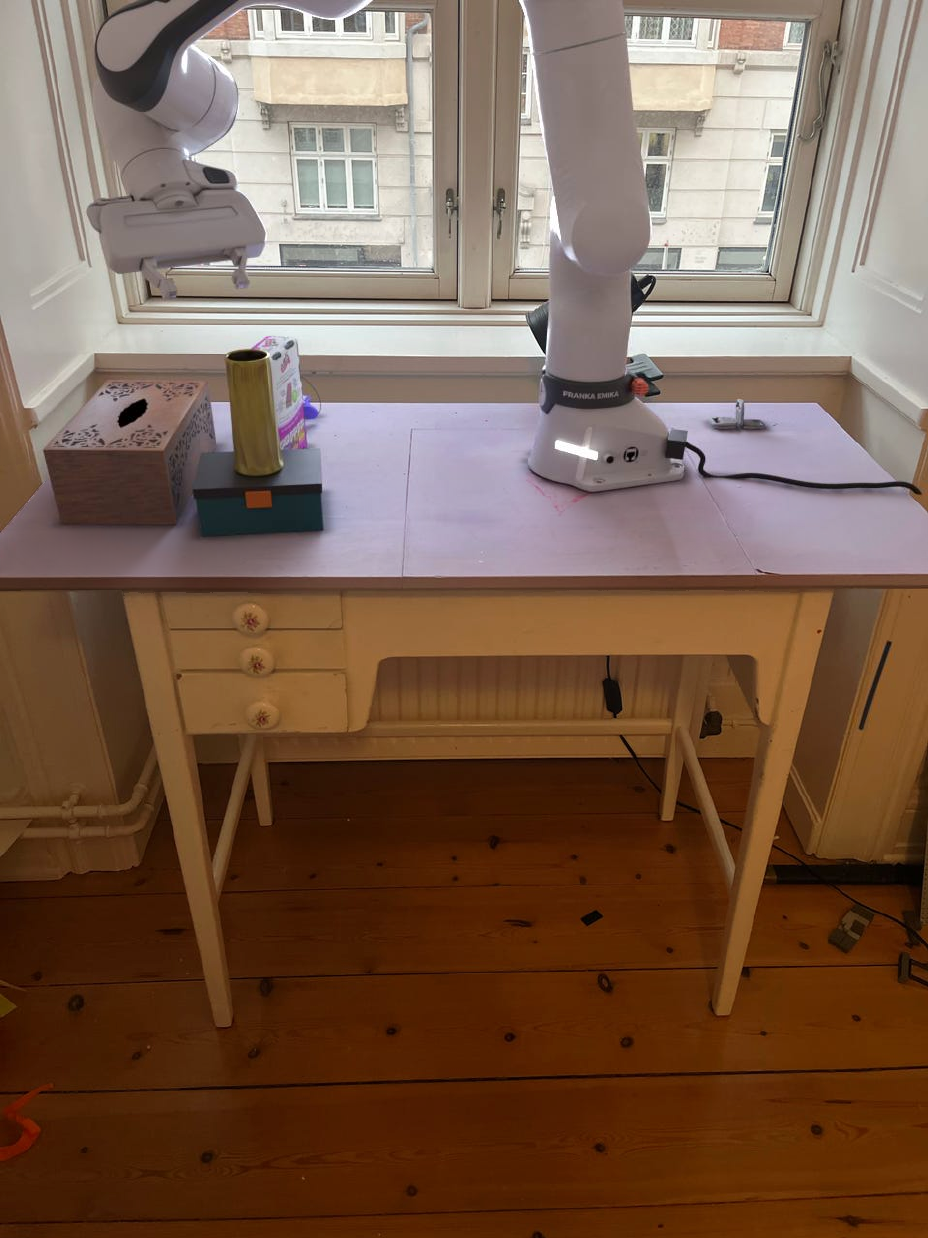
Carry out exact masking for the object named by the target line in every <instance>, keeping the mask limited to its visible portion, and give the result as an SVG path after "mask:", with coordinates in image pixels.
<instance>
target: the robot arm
mask: <svg viewBox="0 0 928 1238" xmlns="http://www.w3.org/2000/svg"><path fill="white" fill-rule="evenodd" d="M372 1H373V0H135V1H133V2H130V3H128V4H126V5H124V6H121V7H120V8H117V9H116V10H114V11H113V12H112V13H111V14H110V15H108V16H107V18H106V19H105V20H104V21H103V22H102V24H101V25H100V27H99V30H98V31H97V33H96V36H95V41H94V50H93V51H94V52H93V53H94V63H95V69H96V73H97V77H96V79H95V81H94V83H93V87H92V108H93V112H94V116H95V120H96V123H97V126H98V127H97V128H98V130H99V132H100V135H101V138H102V140H103V143H104V145H105V147H106V150H107V152H108V154H109V156H110V158H111V159H112V161H113V163H115V164H116V165H117V167H118V171H119V177H120V181H121V184H122V186H123V189H124V191H125V193H126V195H123V196H122V195H121V196H120V195H119V196H114V197H110V198H109V197H107V198H106V197H99V198H95V199H94V200H93V202H91V203H89V204H88V205H87V207H86V211H85V212H86V217H87V218H88V221H89V224H90V225H91V227H92V228H93V230H94V231H96V232H97V233H98V238H99V239H98V240H99V243H100V248H101V250H102V254H103V257H104V260H105V263H106V265H107V268H109V269H110V270H111V271H112V272H114V273H115V274H118V275H123V274H130V273H131V274H132V273H139V272H141V274H142V275H143V278H144V279H145V280H146V281H148V282H149V283H150V284H151V285H153V286H154V287H155V288H156V289H158V291H159V293H160V295H161V297H162V299H163V300H170V299H176V298H177V295H178V288H177V286H176V285H175V281H174V278H166V277H165V276H164V275H163V274H162V273H160V271H158V270H164V269H165V270H166V269H171V268H180V267H188V266H197V265H206V264H212V263H221V262H222V263H223V262H229V261H230V262H232V265H233V267H237V269H234V270H233V273H232V275H231V278H230V280H231V282H232V284H234V288H235V289H236V290H243V289H248V288H249V285H250V284H251V283H250V281H251V280H250V278H249V275H248V273H247V269H246V268H247V263H248V259H254V258H255V259H256V258H259V257H260V256H261V255H262V253H263V251H264V249H265V247H266V244H267V241H268V233H267V230H266V228H265V226H264V223H263V221H262V219H261V217H260V215H259V214H258V212H257V210H256V208H255V206H254V205H253V203H252V201H251V199H249V197H248V196H247V195H246V194H245V193H243V192H242V191H241V190H238V183H239V180H238V178H237V175H236V174H235V173H234V172H233V171H232V170H229V169H225V168H220V167H215V166H211V165H208V164H203V163H200V162H198V161H194V160H192V159H190V157H192V156H195V155H197V154H199V153H202V152H203V151H205V150H206V149H208V148H210V147H211V146H213V145H215V144H216V143H217V142H218V141H220V140H221V139H222V138H224V137H225V136H226V135H227V134H228V133H229V132H230V131H231V129H232V128H233V126H234V124H235V123H236V120H237V117H238V113H239V108H240V107H239V106H240V97H239V96H240V94H239V90H238V85H237V83H236V80H235V78H234V76H233V75H232V73H231V72H230V71H229V70H228V69H227V68H225V67H224V66H223V65H222V64H220V63H219V62H218V61H216V59H214V58H213V57H211V56H210V55H209V54H208V53H206V52H205V51H204V50H202V49H200V48H199V47H197V46H196V45H195V44H196V43H197V42H198V41H200V40H202V38H204V37H205V36H207V35H208V34H209V33H211V32H212V31H213V30H215V29H216V28H218V27H219V26H221V25H222V24H223V23H225V22H226V21H227V20H229V19H230V18H231V17H233V16H234V15H235V14H237V13H238V12H240V11H241V10H244V9H246V8H249V7H253V6H261V5H268V6H269V5H271V6H278V7H282V8H287V9H292V10H295V11H299V12H301V13H303V14H306V15H310V16H312V17H316V18H320V19H323V20H343V19H344V18H347V17H349V16H351V15H353V14H354V13H357V12H358V11H360V10H361V9H363V8H364V7H366V6H367V5H368V4H370V3H371V2H372ZM518 1H519V3H520V5H521V7H522V10H523V13H524V16H525V21H526V27H527V34H528V42H529V50H530V54H531V55H530V56H531V57H530V58H531V64H532V71H533V76H534V77H533V78H534V87H535V93H536V101H537V107H538V115H539V121H540V128H541V134H542V138H543V144H544V149H545V153H546V154H545V155H546V159H547V165H548V166H547V167H548V171H549V177H550V182H551V189H552V194H553V196H552V200H551V204H550V215H549V216H550V219H549V244H548V247H549V248H548V249H549V252H548V316H547V317H548V318H547V319H548V320H547V333H546V334H547V335H546V348H545V364H544V365H543V366H542V368H541V377H540V381H539V394H538V395H539V397H538V403H539V408H540V413H539V418H538V419H539V420H538V424H537V429H536V433H535V438H534V441H533V443H532V448H531V451H530V453H529V456H528V458H527V465H528V467H529V468H530V470H532V472H533V473H535V474H537V475H539V476H541V477H542V478H545V479H548V480H550V481H553V482H557V483H561V484H565V485H570V486H574V487H576V488H578V489H580V490H582V491H586V492H589V493H590V492H592V493H597V492H603V491H610V490H617V489H624V488H632V487H637V486H638V487H639V486H645V485H646V486H647V485H652V484H653V485H654V484H660V483H667V482H673V481H679V480H682V479H683V478H684V475H685V465H684V462H683V460H684V457H685V451H686V449H688V450H690V451H692V452H693V453H695V454H696V455H697V456H698V457H699V462H698V466H697V471H698V473H699V474H700V476H702V477H703V478H714V479H715V478H716V479H731V480H732V479H733V480H742V479H743V480H745V479H759V480H765V481H766V480H767V481H770V482H771V481H772V482H777V483H782V484H787V485H791V486H796V487H801V488H802V487H803V488H808V489H809V488H810V489H817V490H818V489H819V490H848V489H849V490H850V489H887V488H888V489H889V488H905V489H908V490H910V491H911V492H913V494H915V495H919V496H922V495H923V493H922V491H921V490H920V489H919V487H917V486H916V485H914V484H913V483H911V482H908V481H900V480H899V481H896V480H895V481H885V482H883V481H882V482H845V483H844V482H843V483H827V482H826V483H823V482H822V483H821V482H812V481H804V480H799V479H793V478H788V477H783V476H779V475H773V474H768V473H761V472H741V473H740V472H739V473H733V474H726V475H715V474H711V473H709V472H707V471H706V470H705V469H704V466H705V464H706V455H705V452H703V451H702V450H701V449H700V448H699V447H697V446H696V445H694V444H692V443H690V442H689V441H687V438H688V434H689V433H688V430H684V429H683V430H682V429H674V428H670V429H669V430H668V427H667V425H666V423H665V422H664V421H663V420H662V418H661V417H660V416H659V415H657V413H655V412H654V410H652V409H651V408H650V407H649V406H647V405H646V403H644V402H642V401H641V399H639V398H638V397H644V396H646V395H647V393H648V392H649V390H650V386H649V384H648V382H647V381H645V379H643V378H641V377H638V376H637V374H635V373H634V372H633V371H630V370H629V369H628V368H627V361H628V351H629V342H630V333H631V324H632V316H633V312H632V311H633V310H632V309H633V308H632V292H631V291H632V269H633V268H634V267H636V265H637V264H638V263H639V262H640V261H641V260H642V259H643V257H644V256H645V254H646V252H647V250H648V248H649V245H650V241H651V238H652V237H651V236H652V218H651V210H650V204H649V197H648V196H649V195H648V188H647V180H646V174H645V168H644V162H643V156H642V150H641V144H640V139H639V133H638V128H637V122H636V117H635V112H634V111H635V110H634V102H633V94H632V93H633V92H632V81H631V71H630V70H631V69H630V60H629V49H628V39H627V38H628V37H627V27H626V18H625V11H624V5H623V0H518ZM637 396H638V397H637ZM892 644H893V641H890V640H886V642H885V645H884V648H883V651H882V654H881V656H880V660H879V663H878V665H877V669H876V671H875V673H874V677H873V681H872V684H871V686H870V690H869V692H868V695H867V698H866V701H865V705H864V708H863V711H862V714H861V718H860V721H859V725H858V727H857V729H858V730H859V731H864V728H865V726H866V722H867V718H868V715H869V711H870V709H871V706H872V702H873V700H874V696H875V693H876V690H877V687H878V684H879V681H880V679H881V676H882V673H883V670H884V667H885V664H886V661H887V658H888V656H889V653H890V650H891V647H892Z"/></svg>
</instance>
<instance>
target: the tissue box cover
mask: <svg viewBox="0 0 928 1238" xmlns="http://www.w3.org/2000/svg"><path fill="white" fill-rule="evenodd" d="M214 423H215V422H214V415H213V408H212V401H211V393H210V386H209V381H208V380H139V379H138V380H137V379H136V380H135V379H134V380H129V379H127V380H123V379H118V380H117V379H116V380H115V379H106V381H105V382H104V383H103V384H101V386H100V387H99V388H98V389H97V390H96V391H95V393H94V394H93V395H92V396H90V398H89V399H88V400H87V401H86V402H85V403H84V404H83V406H82V407H81V408H80V409H79V410H78V411H77V412H76V413H75V414H74V415H73V417H72V418H71V419H70V420H69V421H68V422H67V423H66V424H65V425H64V426H63V428H61V429H60V431H59V432H58V433H57V434H56V435H55V436H54V437H53V439H51V440H50V442H48V444H47V445H46V446H45V447H44V448H43V449H42V452H43V455H44V460H45V463H46V469H47V472H48V476H49V480H50V485H51V487H52V488H51V489H52V493H53V496H54V501H55V504H56V505H55V506H56V510H57V512H58V517H59V521H60V524H61V525H177V524H178V522H179V520H180V518H181V516H182V514H183V513H184V510H185V508H186V506H187V505H188V503H189V501H190V499H191V497H192V496H193V490H192V489H193V485H194V481H195V477H196V472H197V468H198V464H199V460H200V455H201V453H208V452H216V451H215V450H216V449H217V447H218V445H217V439H216V437H217V436H216V430H215V424H214Z"/></svg>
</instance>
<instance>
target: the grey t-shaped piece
mask: <svg viewBox="0 0 928 1238" xmlns="http://www.w3.org/2000/svg"><path fill="white" fill-rule="evenodd" d="M745 403H746V402H745V400H744V399H742V398H737V399H736V402H735V411H734V413H735V415H734V417H735V418H734V417H731V416H715V417H711V418H710V419H709V424H710V425H711V426H712V427H713V428H714V429H719V430H733V429H736V428H737V427H738V426H739V427H741V428H742V429H746V430H747V429H749V430H751V429H752V430H759V429H763V428H765V427H766V424H765V423H764V422H763V421H762V420H761V419H745ZM757 423H758V424H757Z"/></svg>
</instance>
